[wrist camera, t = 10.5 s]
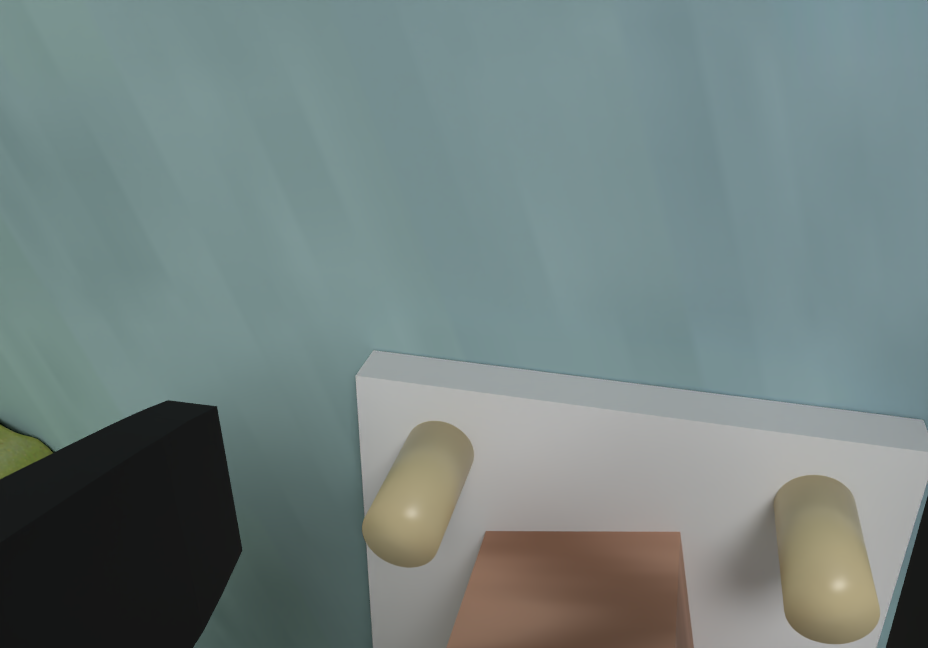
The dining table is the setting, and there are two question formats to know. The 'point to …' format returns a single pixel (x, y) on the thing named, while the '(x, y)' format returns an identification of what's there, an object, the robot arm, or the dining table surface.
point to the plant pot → (19, 451)
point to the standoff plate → (635, 495)
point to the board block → (576, 592)
